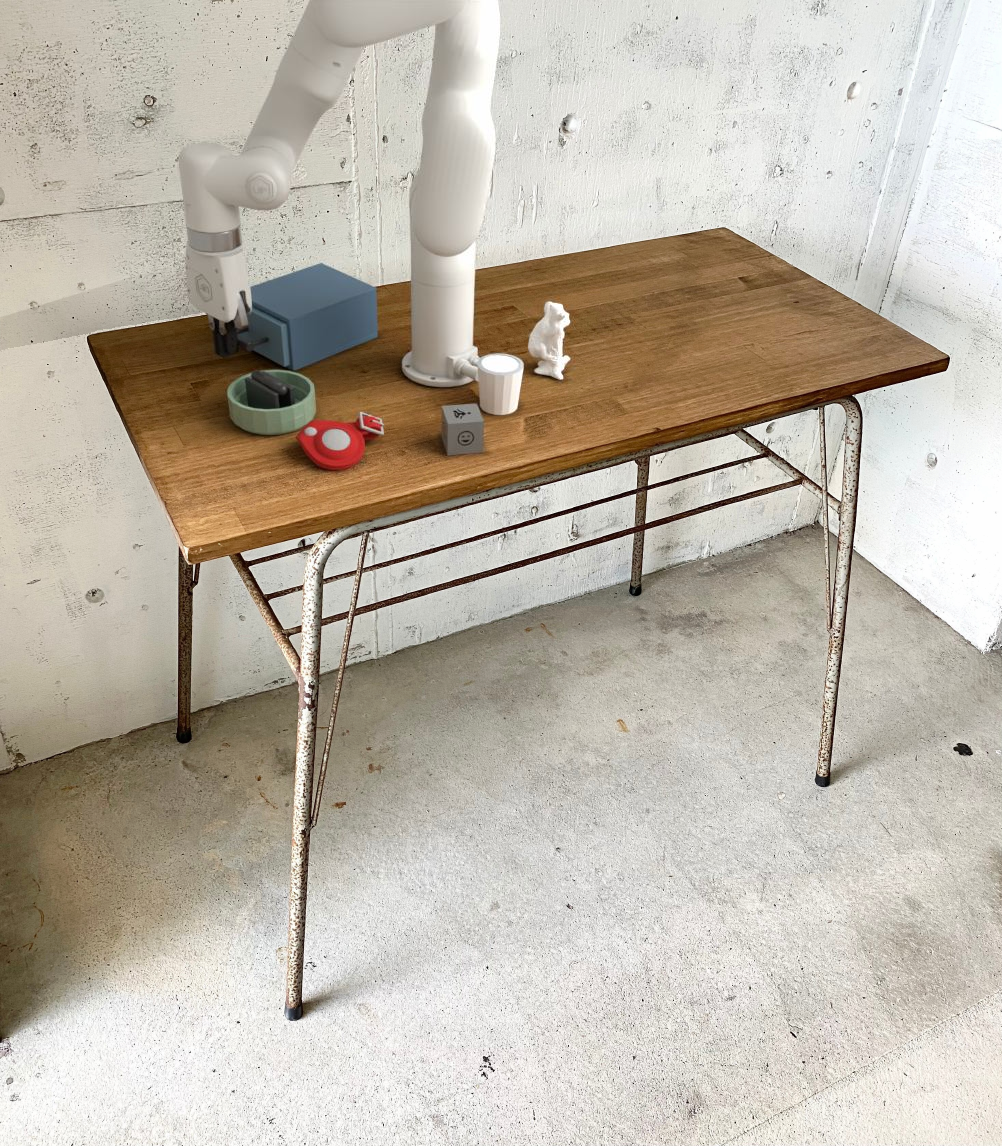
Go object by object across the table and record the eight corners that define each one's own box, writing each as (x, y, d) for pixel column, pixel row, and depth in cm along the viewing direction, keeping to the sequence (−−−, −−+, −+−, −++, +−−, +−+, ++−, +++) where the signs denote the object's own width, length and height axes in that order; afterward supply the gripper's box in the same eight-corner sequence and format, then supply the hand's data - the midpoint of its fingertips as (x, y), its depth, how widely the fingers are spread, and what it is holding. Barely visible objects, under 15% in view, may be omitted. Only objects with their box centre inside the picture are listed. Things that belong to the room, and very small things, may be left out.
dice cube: (441, 436, 156) (441, 405, 153) (475, 434, 157) (476, 403, 154) (447, 455, 152) (448, 424, 149) (482, 452, 153) (484, 421, 150)
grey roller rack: (297, 417, 158) (294, 382, 154) (278, 425, 156) (274, 390, 152) (265, 399, 161) (262, 365, 158) (247, 407, 159) (243, 372, 156)
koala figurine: (575, 383, 170) (582, 310, 163) (532, 384, 170) (537, 311, 162) (565, 358, 177) (571, 287, 170) (524, 359, 176) (528, 288, 169)
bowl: (333, 416, 159) (331, 390, 157) (266, 446, 152) (263, 420, 150) (280, 386, 166) (278, 361, 163) (213, 414, 158) (209, 388, 156)
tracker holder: (349, 471, 146) (284, 440, 147) (347, 492, 149) (283, 461, 151) (392, 414, 153) (329, 384, 154) (389, 435, 156) (328, 405, 157)
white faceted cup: (493, 389, 168) (495, 348, 163) (530, 404, 165) (533, 361, 160) (466, 407, 163) (467, 364, 159) (504, 422, 160) (506, 379, 156)
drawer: (262, 376, 166) (257, 334, 162) (213, 348, 173) (207, 308, 169) (364, 334, 179) (363, 295, 175) (315, 310, 185) (313, 272, 181)
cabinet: (293, 371, 170) (289, 319, 165) (240, 342, 177) (234, 291, 172) (378, 337, 180) (376, 287, 175) (324, 310, 187) (321, 262, 182)
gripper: (161, 227, 158) (177, 344, 169) (225, 258, 150) (237, 378, 161) (204, 215, 162) (217, 330, 173) (269, 245, 155) (278, 362, 166)
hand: (227, 353), depth 167 cm, fingers closed
